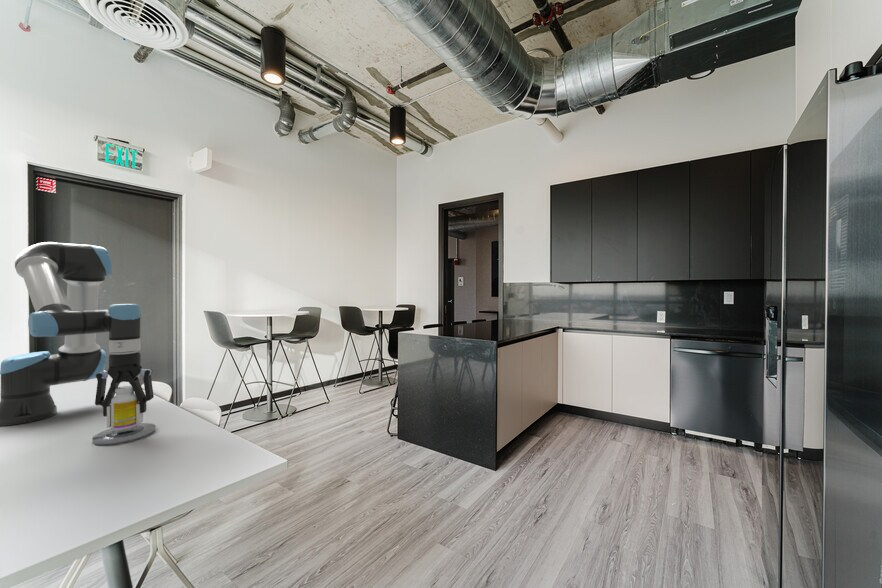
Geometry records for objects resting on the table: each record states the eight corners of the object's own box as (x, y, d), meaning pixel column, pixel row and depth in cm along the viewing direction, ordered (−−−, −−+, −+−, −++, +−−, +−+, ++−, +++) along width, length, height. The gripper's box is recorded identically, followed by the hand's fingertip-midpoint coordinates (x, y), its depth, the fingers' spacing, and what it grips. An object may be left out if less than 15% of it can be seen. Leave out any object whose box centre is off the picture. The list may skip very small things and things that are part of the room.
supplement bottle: (142, 426, 113) (142, 386, 113) (115, 433, 108) (115, 391, 108) (134, 422, 117) (134, 383, 117) (107, 429, 111) (107, 388, 111)
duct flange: (77, 445, 105) (77, 441, 105) (122, 426, 120) (122, 422, 120) (128, 445, 105) (128, 440, 105) (167, 426, 120) (167, 422, 120)
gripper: (77, 356, 105) (78, 433, 105) (157, 352, 112) (158, 424, 112) (92, 352, 112) (92, 424, 112) (166, 348, 119) (167, 416, 119)
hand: (125, 424), depth 112 cm, fingers closed on supplement bottle, 7 cm apart
